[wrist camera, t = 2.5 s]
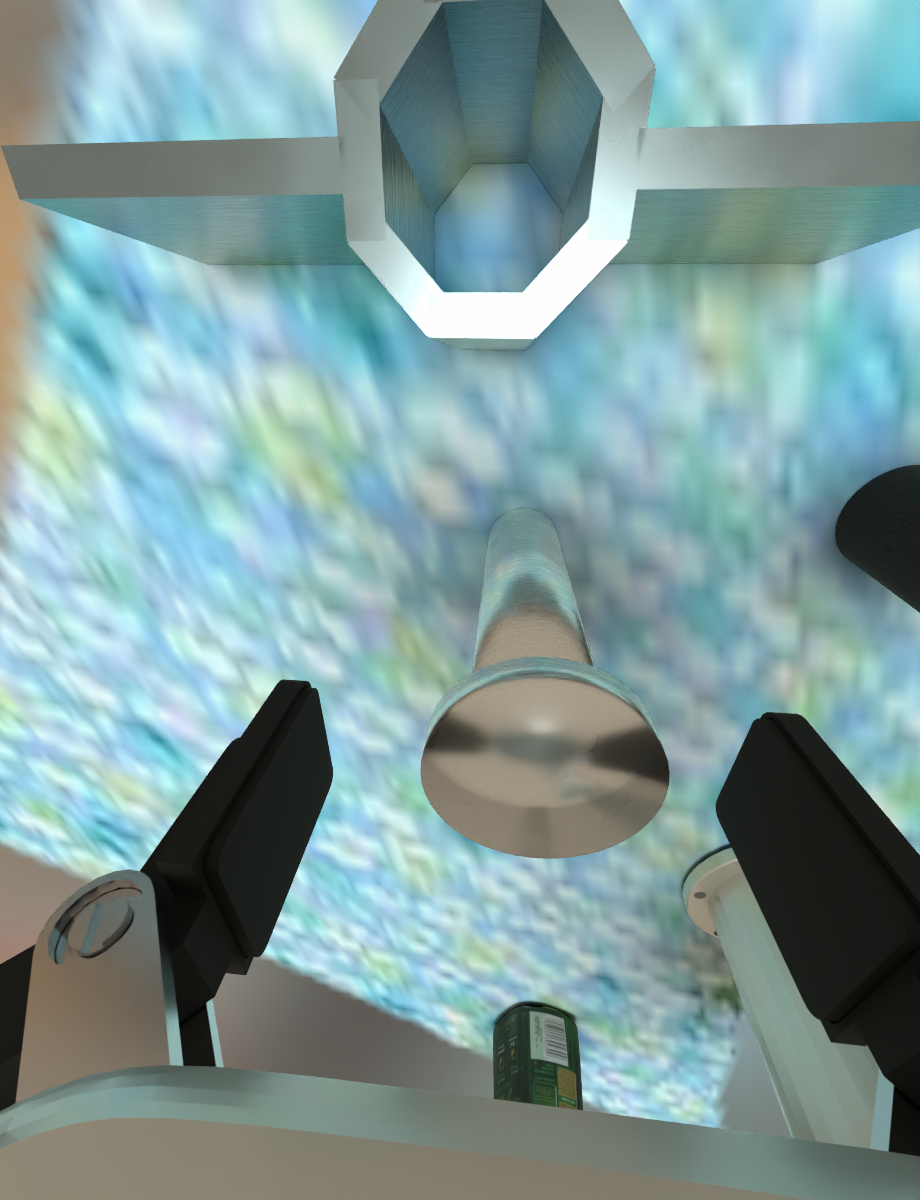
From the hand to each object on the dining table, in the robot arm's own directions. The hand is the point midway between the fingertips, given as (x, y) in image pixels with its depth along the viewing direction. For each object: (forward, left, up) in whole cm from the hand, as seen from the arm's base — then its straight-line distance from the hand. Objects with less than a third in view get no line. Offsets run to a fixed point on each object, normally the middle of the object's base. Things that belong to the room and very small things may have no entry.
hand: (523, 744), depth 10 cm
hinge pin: (0, +1, -14) cm, 14 cm away
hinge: (+2, -11, -14) cm, 18 cm away
